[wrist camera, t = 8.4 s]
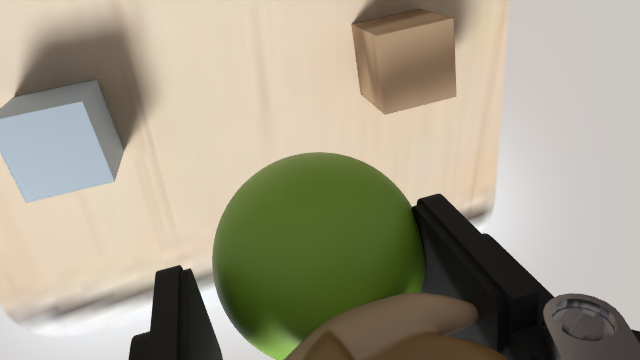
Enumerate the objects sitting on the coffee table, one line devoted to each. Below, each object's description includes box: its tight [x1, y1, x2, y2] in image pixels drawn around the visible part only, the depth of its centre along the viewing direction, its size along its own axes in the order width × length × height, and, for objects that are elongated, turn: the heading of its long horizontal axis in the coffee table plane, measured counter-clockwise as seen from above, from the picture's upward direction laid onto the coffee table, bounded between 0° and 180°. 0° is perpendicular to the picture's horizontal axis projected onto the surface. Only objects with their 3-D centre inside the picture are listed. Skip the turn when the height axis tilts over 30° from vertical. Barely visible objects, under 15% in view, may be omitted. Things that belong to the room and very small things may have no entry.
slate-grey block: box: [0, 80, 124, 203], centre depth 29 cm, size 5×5×5 cm
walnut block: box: [351, 9, 456, 115], centre depth 32 cm, size 5×5×5 cm
